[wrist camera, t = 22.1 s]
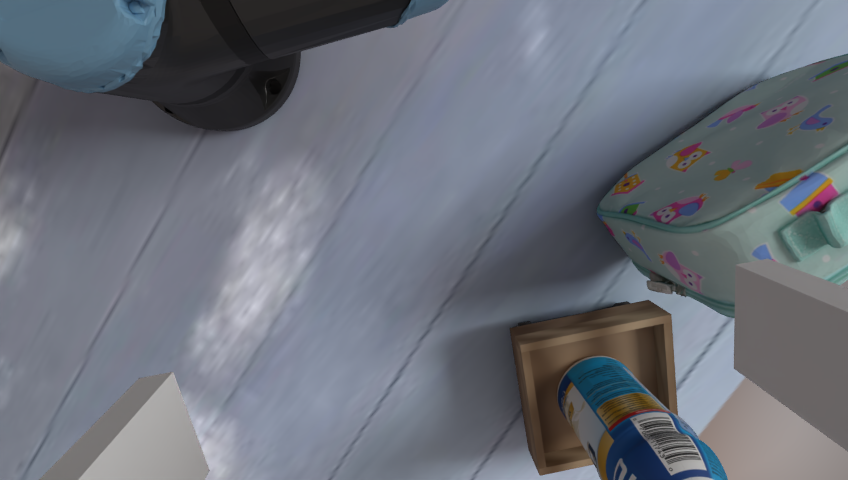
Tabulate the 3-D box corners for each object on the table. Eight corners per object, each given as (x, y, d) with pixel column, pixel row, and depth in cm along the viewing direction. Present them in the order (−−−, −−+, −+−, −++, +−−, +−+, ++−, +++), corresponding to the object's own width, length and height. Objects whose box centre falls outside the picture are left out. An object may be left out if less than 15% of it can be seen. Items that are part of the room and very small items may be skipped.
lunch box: (613, 280, 49) (771, 381, 29) (565, 206, 47) (700, 257, 26) (824, 137, 47) (1161, 134, 27) (784, 53, 45) (1118, -23, 24)
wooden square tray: (521, 433, 53) (539, 475, 46) (503, 317, 49) (520, 345, 43) (643, 407, 53) (679, 446, 46) (634, 290, 50) (671, 314, 43)
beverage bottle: (648, 377, 47) (829, 546, 27) (598, 437, 48) (738, 641, 28) (586, 337, 45) (731, 485, 26) (537, 400, 46) (640, 588, 27)
